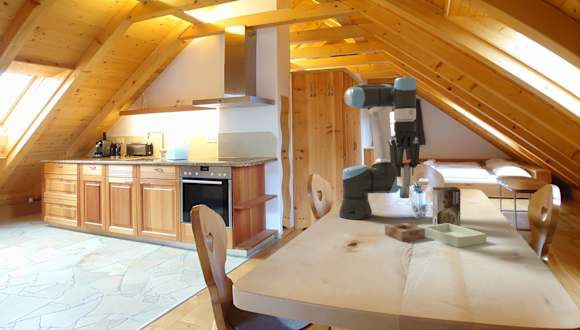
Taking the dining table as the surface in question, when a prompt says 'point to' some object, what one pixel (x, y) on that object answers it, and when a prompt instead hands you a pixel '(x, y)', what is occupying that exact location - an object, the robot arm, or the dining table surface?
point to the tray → (454, 235)
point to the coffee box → (446, 205)
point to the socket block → (404, 232)
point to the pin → (405, 179)
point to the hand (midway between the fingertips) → (404, 185)
